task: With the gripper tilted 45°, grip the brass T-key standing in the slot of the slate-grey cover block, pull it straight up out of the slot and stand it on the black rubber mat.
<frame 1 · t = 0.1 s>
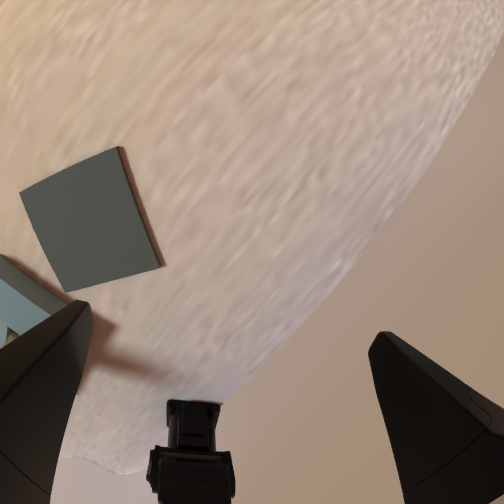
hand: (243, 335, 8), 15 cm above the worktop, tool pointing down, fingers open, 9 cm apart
rubber mat: (85, 226, 21), on the worktop
cover block: (29, 333, 25), on the worktop
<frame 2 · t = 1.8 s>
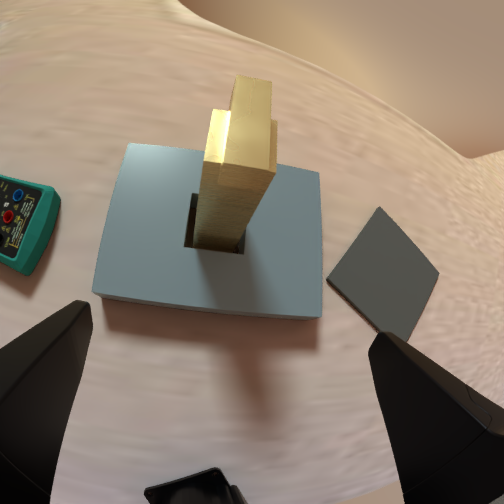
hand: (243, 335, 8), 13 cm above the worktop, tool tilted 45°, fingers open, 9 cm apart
rubber mat: (390, 276, 26), on the worktop
brass key: (213, 235, 23), resting in cover block
cover block: (213, 235, 23), on the worktop
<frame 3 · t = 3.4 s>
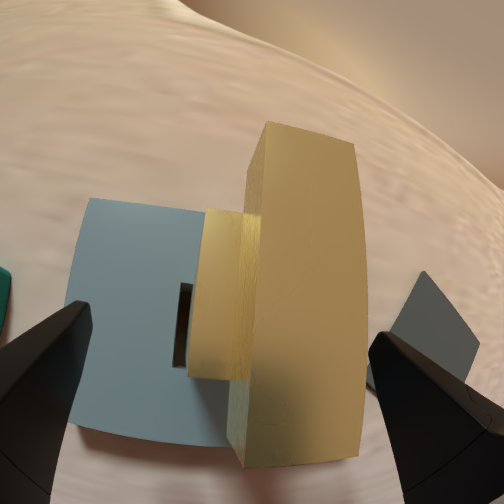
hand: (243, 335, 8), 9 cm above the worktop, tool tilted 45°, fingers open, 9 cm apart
rubber mat: (431, 359, 19), on the worktop
brass key: (214, 332, 16), resting in cover block
cover block: (214, 332, 16), on the worktop
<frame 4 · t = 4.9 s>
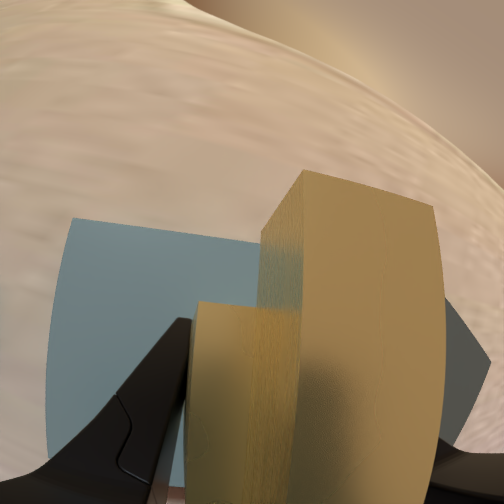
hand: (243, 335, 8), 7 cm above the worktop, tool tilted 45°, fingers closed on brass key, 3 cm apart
rubber mat: (442, 382, 17), on the worktop
brass key: (214, 366, 14), resting in cover block, touching gripper
cover block: (214, 366, 14), on the worktop
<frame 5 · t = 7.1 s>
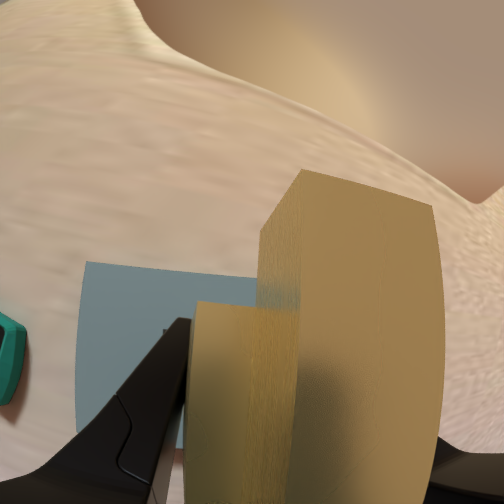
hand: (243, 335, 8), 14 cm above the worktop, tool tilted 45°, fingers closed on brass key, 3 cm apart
brass key: (214, 366, 14), point 6 cm above the worktop, touching gripper
cover block: (192, 361, 20), on the worktop
when the fingers open (8 cm above the worktop, at t = 9.6 s): brass key stays where it is, resting on rubber mat.
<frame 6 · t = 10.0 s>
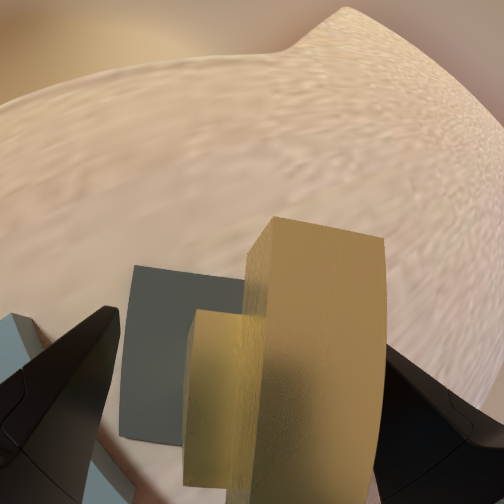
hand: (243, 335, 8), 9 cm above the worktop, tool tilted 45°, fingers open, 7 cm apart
rubber mat: (211, 364, 16), on the worktop
brass key: (212, 364, 15), resting on rubber mat
cover block: (0, 445, 10), on the worktop
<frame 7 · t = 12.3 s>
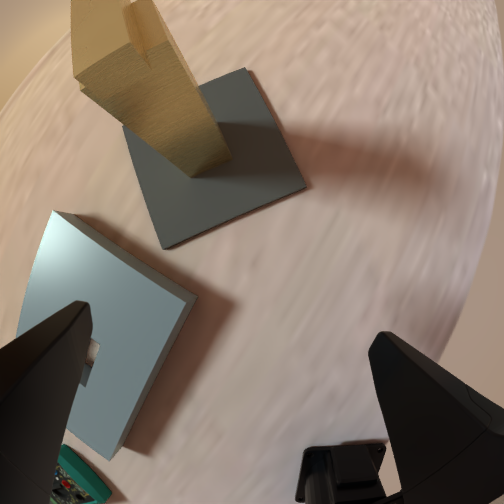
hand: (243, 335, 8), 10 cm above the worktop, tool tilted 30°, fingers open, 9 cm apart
rubber mat: (205, 151, 19), on the worktop
brass key: (203, 149, 19), resting on rubber mat
digital multimeter: (65, 476, 21), on the worktop
cover block: (89, 341, 20), on the worktop
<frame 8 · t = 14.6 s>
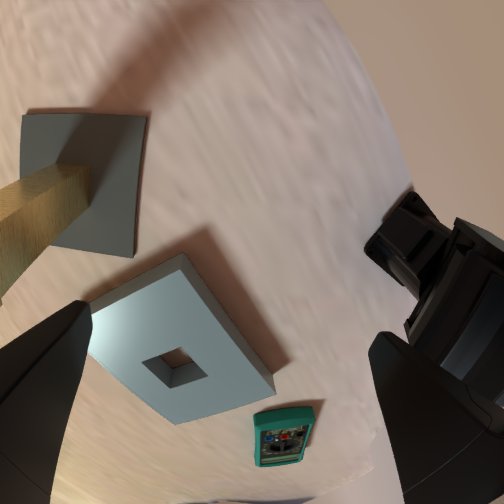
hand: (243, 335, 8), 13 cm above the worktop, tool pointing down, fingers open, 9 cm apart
rubber mat: (74, 183, 18), on the worktop
brass key: (71, 185, 17), resting on rubber mat
digital multimeter: (279, 431, 36), on the worktop
cover block: (177, 349, 25), on the worktop
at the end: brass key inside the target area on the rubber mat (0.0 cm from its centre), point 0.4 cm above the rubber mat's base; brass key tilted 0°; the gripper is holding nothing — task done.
